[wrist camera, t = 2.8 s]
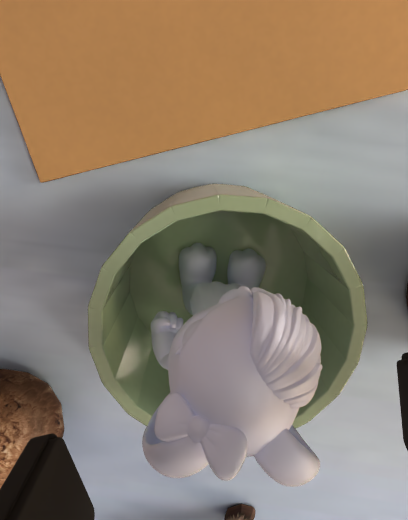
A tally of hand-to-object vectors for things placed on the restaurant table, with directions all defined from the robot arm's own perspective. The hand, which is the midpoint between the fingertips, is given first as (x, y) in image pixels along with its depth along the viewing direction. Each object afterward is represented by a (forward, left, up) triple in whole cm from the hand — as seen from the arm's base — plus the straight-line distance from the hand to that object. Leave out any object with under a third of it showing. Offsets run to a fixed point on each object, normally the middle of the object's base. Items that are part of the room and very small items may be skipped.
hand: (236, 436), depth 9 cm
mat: (-2, -14, -12) cm, 18 cm away
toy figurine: (0, 0, -12) cm, 12 cm away
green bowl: (0, 0, -12) cm, 12 cm away
